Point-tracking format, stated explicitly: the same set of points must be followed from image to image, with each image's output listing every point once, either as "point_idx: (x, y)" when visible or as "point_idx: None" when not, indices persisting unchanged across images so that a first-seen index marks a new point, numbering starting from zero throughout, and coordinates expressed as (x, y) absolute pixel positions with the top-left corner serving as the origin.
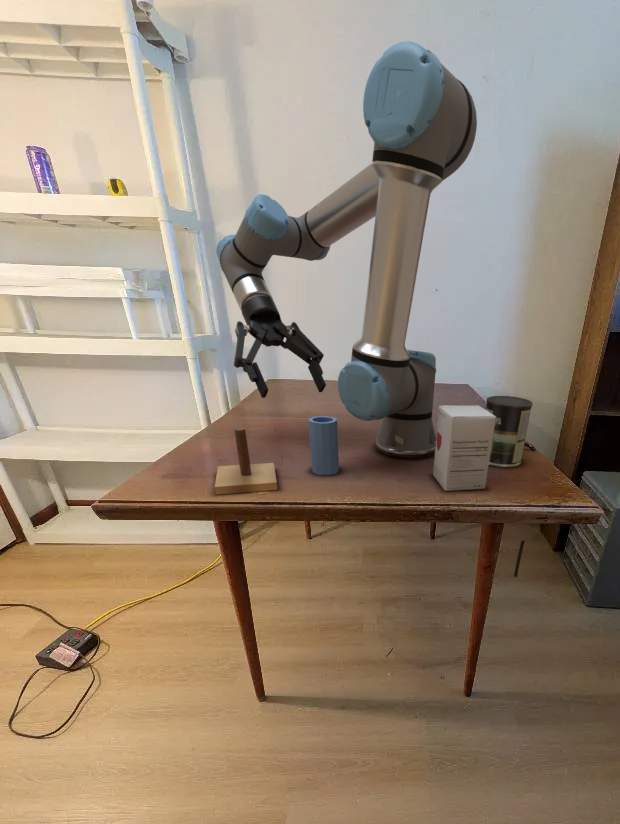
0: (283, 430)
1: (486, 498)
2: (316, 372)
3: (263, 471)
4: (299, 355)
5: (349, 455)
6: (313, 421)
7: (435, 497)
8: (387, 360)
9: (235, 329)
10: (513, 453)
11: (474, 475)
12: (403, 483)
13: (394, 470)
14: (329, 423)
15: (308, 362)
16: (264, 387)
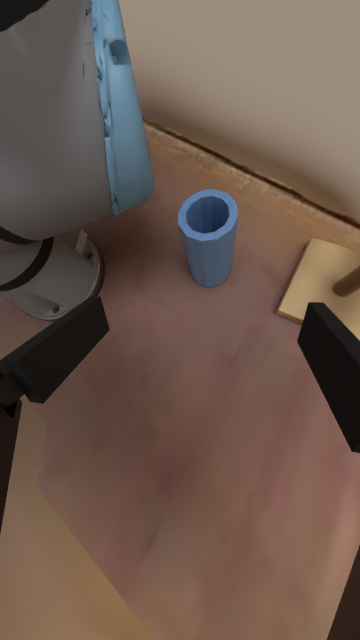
0: (138, 522)
1: None
2: (68, 328)
3: (311, 284)
4: (3, 464)
5: (141, 303)
6: (233, 208)
7: (163, 148)
8: None
9: None
10: None
11: None
12: (160, 189)
13: (137, 224)
14: (211, 190)
15: (15, 411)
16: (325, 307)
